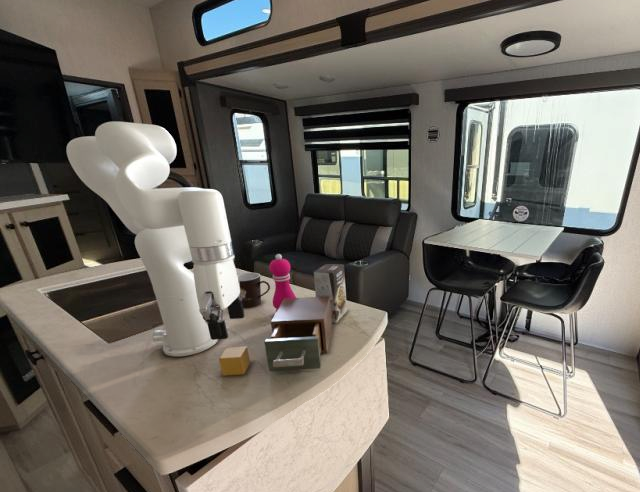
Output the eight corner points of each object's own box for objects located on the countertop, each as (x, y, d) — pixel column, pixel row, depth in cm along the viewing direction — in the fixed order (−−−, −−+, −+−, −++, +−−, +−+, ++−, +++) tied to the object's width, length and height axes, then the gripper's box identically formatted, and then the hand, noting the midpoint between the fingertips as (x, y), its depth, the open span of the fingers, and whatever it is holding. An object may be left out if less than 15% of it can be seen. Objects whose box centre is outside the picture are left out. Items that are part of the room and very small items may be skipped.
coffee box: (337, 323, 96) (333, 273, 90) (317, 321, 97) (312, 271, 91) (347, 311, 104) (344, 264, 99) (329, 309, 105) (325, 262, 100)
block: (222, 375, 72) (218, 358, 70) (230, 364, 76) (226, 347, 75) (243, 374, 72) (240, 357, 71) (250, 362, 77) (247, 346, 75)
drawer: (317, 382, 68) (314, 350, 66) (262, 385, 67) (257, 354, 65) (326, 338, 86) (324, 312, 83) (283, 341, 84) (279, 314, 82)
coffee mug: (232, 305, 109) (226, 277, 105) (255, 297, 115) (250, 271, 112) (251, 313, 102) (246, 284, 99) (274, 304, 109) (270, 277, 106)
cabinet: (327, 352, 81) (323, 318, 77) (276, 355, 80) (270, 321, 76) (332, 326, 94) (329, 296, 91) (288, 328, 93) (284, 298, 90)
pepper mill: (269, 317, 100) (259, 255, 93) (285, 308, 106) (277, 250, 99) (287, 321, 97) (279, 258, 91) (303, 311, 104) (295, 252, 97)
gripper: (212, 244, 72) (227, 312, 78) (168, 265, 56) (191, 349, 62) (246, 242, 73) (258, 310, 79) (213, 263, 57) (231, 346, 63)
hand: (229, 327), depth 70 cm, fingers open, 9 cm apart
